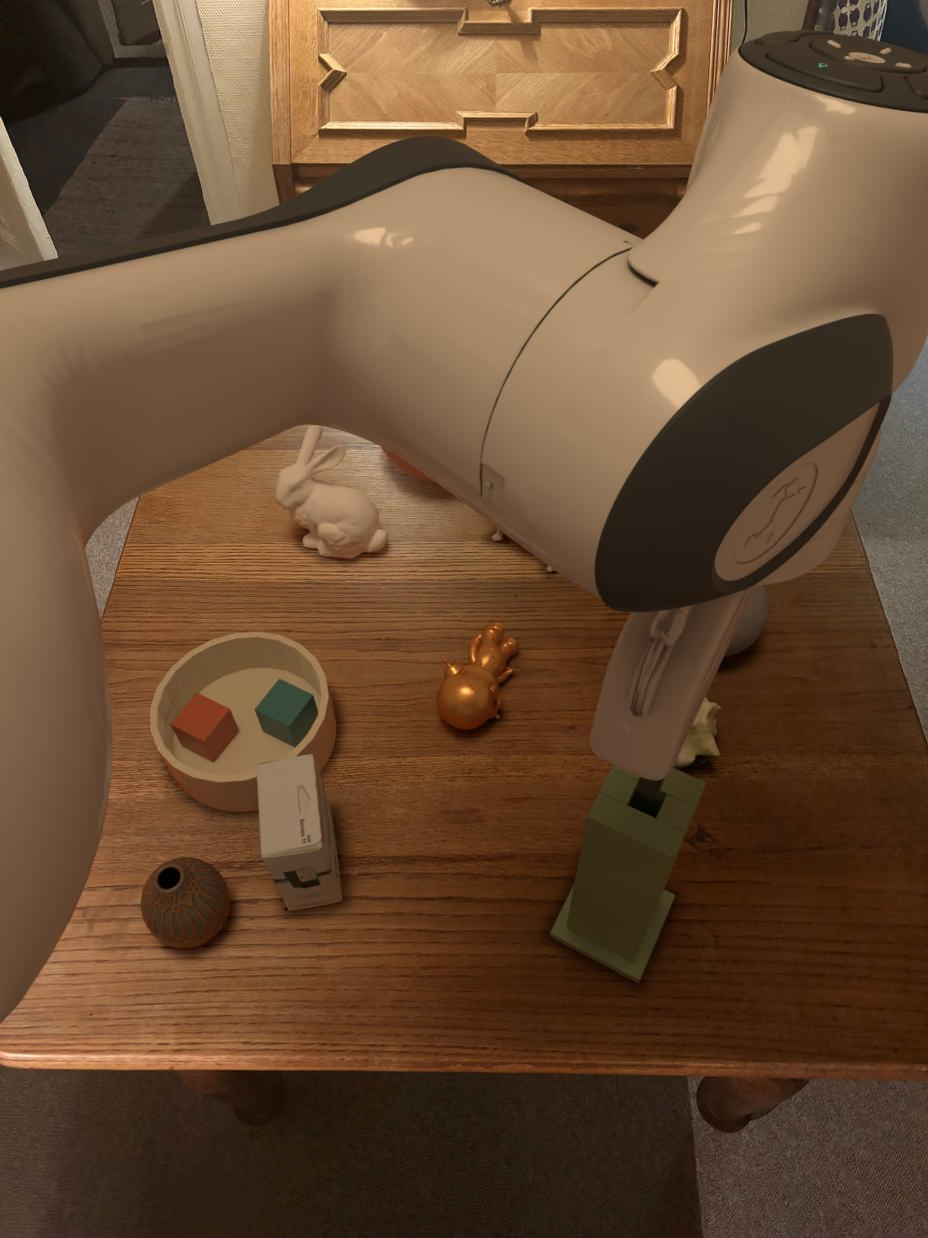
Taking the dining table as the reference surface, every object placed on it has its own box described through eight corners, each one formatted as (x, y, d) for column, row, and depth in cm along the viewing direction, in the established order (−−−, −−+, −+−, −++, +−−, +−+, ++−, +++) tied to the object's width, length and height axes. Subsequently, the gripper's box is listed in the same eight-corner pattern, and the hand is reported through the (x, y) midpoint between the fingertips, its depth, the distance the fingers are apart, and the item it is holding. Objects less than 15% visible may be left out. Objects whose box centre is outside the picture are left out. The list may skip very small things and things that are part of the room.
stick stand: (638, 984, 74) (683, 878, 57) (549, 937, 77) (566, 822, 59) (673, 899, 78) (725, 776, 61) (588, 857, 81) (614, 728, 64)
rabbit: (279, 547, 105) (258, 469, 95) (316, 493, 110) (300, 414, 100) (375, 575, 102) (363, 498, 92) (408, 518, 107) (400, 439, 98)
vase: (142, 947, 77) (107, 909, 70) (177, 871, 81) (147, 828, 74) (218, 967, 76) (190, 930, 69) (249, 888, 80) (226, 846, 73)
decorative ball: (736, 594, 99) (758, 531, 91) (769, 669, 93) (795, 608, 85) (647, 607, 98) (660, 544, 90) (674, 683, 92) (691, 623, 84)
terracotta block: (214, 763, 87) (203, 741, 84) (181, 745, 88) (169, 724, 85) (239, 730, 89) (230, 708, 86) (207, 714, 90) (197, 692, 87)
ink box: (280, 822, 84) (254, 758, 74) (334, 813, 84) (314, 748, 75) (286, 915, 78) (258, 858, 69) (343, 904, 79) (324, 846, 69)
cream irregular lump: (628, 698, 92) (649, 643, 87) (718, 732, 91) (745, 677, 85) (605, 764, 86) (626, 708, 80) (701, 801, 84) (729, 747, 79)
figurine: (544, 658, 93) (506, 741, 85) (502, 675, 97) (462, 757, 89) (492, 599, 91) (448, 678, 82) (452, 619, 95) (405, 697, 86)
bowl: (271, 842, 82) (258, 812, 78) (131, 765, 88) (111, 733, 83) (369, 706, 91) (362, 672, 86) (236, 643, 96) (223, 608, 92)
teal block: (296, 748, 87) (288, 726, 84) (262, 731, 89) (254, 709, 86) (319, 716, 90) (313, 694, 86) (286, 700, 91) (279, 678, 88)
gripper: (733, 697, 31) (670, 861, 42) (878, 366, 42) (797, 565, 53) (565, 628, 33) (546, 802, 44) (744, 329, 44) (693, 528, 55)
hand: (684, 670), depth 48 cm, fingers closed
